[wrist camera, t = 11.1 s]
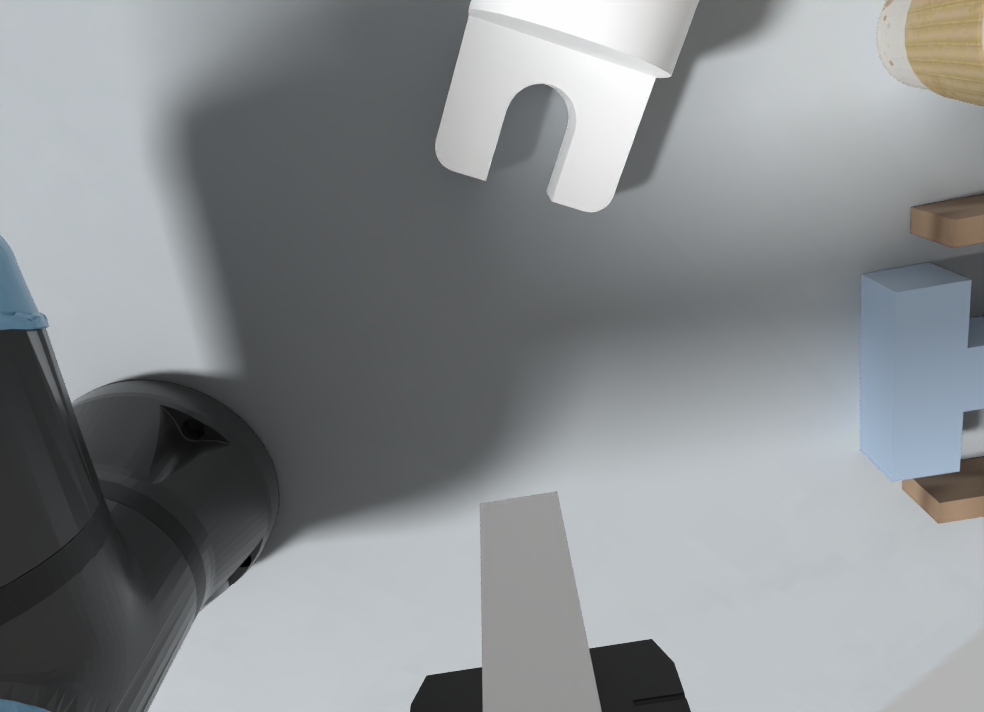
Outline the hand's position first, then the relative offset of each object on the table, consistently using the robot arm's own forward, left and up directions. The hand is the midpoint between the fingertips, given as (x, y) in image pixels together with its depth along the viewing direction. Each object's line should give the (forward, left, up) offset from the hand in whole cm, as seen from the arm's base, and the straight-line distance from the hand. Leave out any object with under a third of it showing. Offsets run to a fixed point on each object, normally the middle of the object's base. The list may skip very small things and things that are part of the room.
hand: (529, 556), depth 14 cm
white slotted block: (+6, +11, -30) cm, 32 cm away
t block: (+26, -12, -29) cm, 41 cm away
